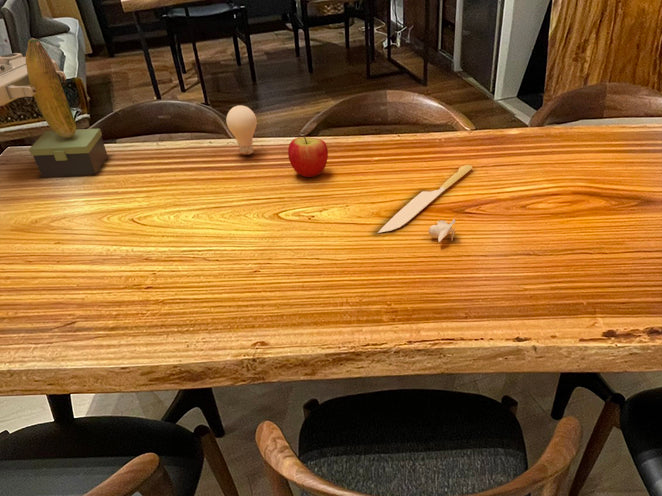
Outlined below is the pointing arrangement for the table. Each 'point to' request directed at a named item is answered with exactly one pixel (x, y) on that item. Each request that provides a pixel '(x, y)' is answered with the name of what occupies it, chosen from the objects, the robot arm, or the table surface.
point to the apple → (308, 155)
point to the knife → (421, 202)
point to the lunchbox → (69, 153)
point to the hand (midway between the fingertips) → (48, 83)
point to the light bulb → (242, 127)
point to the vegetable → (49, 90)
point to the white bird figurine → (442, 229)
